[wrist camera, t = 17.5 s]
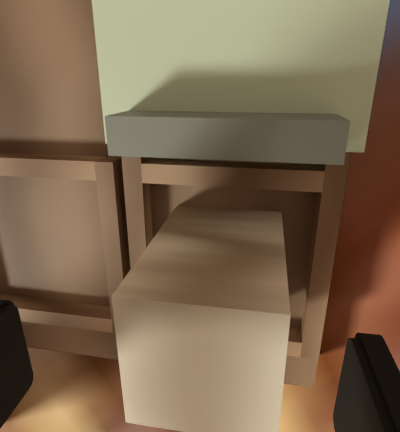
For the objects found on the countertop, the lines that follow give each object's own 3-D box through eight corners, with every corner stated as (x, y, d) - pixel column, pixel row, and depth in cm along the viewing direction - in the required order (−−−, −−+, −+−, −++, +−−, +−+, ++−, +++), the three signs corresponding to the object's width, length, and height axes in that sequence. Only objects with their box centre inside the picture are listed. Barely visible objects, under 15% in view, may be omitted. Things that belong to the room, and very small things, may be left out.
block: (179, 293, 17) (125, 422, 11) (176, 205, 16) (111, 296, 9) (274, 302, 16) (276, 447, 10) (281, 211, 15) (290, 314, 8)
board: (17, 320, 23) (-18, 354, 20) (-69, -60, 15) (-143, -90, 13) (309, 358, 20) (316, 404, 17) (374, -93, 12) (404, -142, 10)
